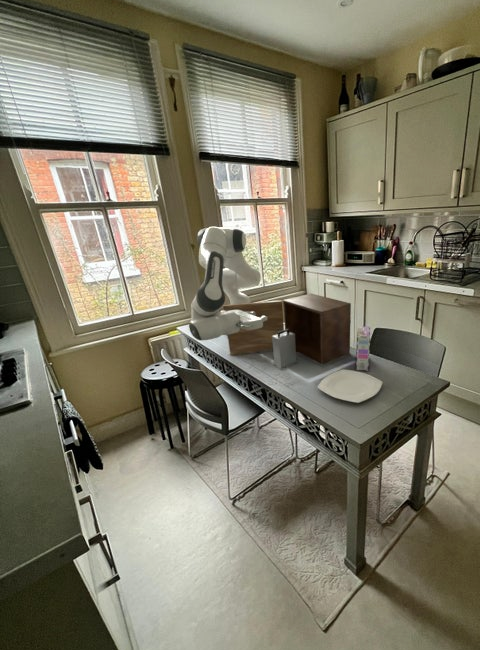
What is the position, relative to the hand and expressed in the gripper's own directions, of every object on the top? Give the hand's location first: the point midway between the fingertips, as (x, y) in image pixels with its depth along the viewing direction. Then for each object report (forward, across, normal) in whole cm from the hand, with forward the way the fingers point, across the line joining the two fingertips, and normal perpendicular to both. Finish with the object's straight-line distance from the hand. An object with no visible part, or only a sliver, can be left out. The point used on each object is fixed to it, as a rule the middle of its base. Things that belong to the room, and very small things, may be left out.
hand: (260, 315), depth 135 cm
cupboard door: (+10, +22, +26) cm, 35 cm away
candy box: (+36, -28, +26) cm, 52 cm away
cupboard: (+30, -2, +25) cm, 40 cm away
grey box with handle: (+10, -2, +26) cm, 28 cm away
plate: (+16, -38, +26) cm, 49 cm away
